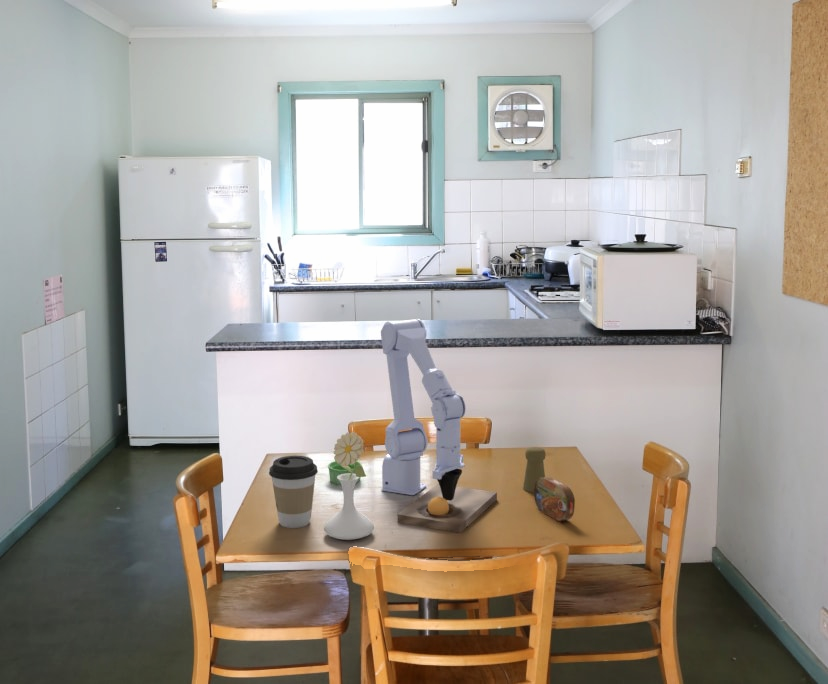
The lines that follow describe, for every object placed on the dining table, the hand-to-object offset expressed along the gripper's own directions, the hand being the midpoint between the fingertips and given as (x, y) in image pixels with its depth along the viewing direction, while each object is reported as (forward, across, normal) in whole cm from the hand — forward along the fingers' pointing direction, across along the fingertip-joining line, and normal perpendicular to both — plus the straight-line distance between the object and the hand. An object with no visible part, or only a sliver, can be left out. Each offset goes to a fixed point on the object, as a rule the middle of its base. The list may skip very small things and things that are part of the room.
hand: (448, 499), depth 240 cm
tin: (+3, +8, -24) cm, 26 cm away
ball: (0, -6, 0) cm, 6 cm away
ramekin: (+3, +11, +34) cm, 36 cm away
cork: (+3, +24, -14) cm, 28 cm away
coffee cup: (+3, -21, +30) cm, 37 cm away
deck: (+3, 0, 0) cm, 3 cm away
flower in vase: (+3, -24, +14) cm, 28 cm away
